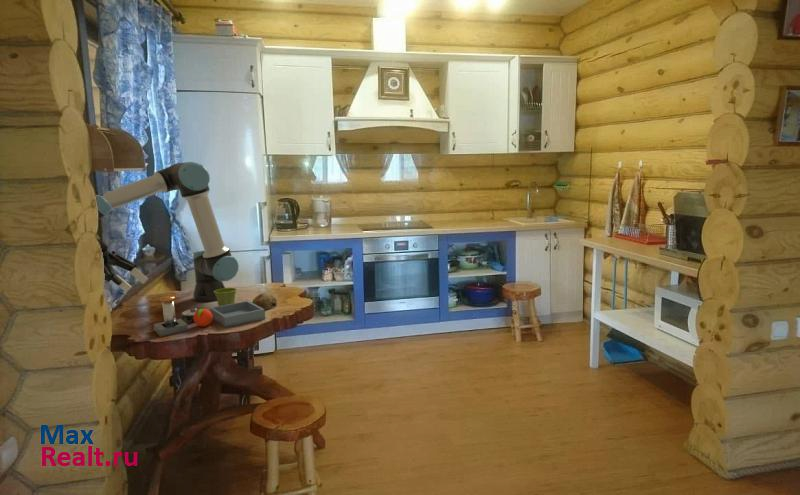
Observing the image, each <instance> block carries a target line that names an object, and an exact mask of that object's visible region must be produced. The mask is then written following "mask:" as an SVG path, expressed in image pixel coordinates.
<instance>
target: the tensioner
mask: <svg viewBox="0 0 800 495" xmlns="http://www.w3.org/2000/svg"><path fill="white" fill-rule="evenodd" d="M199 309H201V307H200V308H197V307H192V308H190V309H186V310H184V311H182V312H181V317H182V318H183V319H181V318H178V319H177V318H176V325H174V326H169V327H165V324H164V321H162V322H158V323H156V322H155V323H153V331H154V332H155V333H156V334H157V335H158V336H159V337H160V338H161V337H167V336H170V335H174V334H181V333H184V332H185V333H186V332H188V331H189V325H188V324H190V323H192V322H194V319H193V318H194V314H195V313H196V311H198V310H199Z"/></svg>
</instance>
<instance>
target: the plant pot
mask: <svg viewBox="0 0 800 495" xmlns="http://www.w3.org/2000/svg"><path fill="white" fill-rule="evenodd" d="M237 290H238V289H237V288H236V287H225V288H221V289H217V290H215V291H214V293H215V295H216V298H217V300H216V301H217V306H222V305H228V304H233V303H236V300H235V299H236V293H237Z"/></svg>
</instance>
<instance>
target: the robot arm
mask: <svg viewBox="0 0 800 495" xmlns="http://www.w3.org/2000/svg"><path fill="white" fill-rule="evenodd" d="M210 178H211V177H210V172H209V171H208V168H206V167H205V166H204V165H203V164H201V163H199V162H194V161H188V162H187V161H186V162H178V163H174V164H172V165H169V166H167V167H165V168H162V169H161V170H158V171H155V172H154V173H153V175H150V176H147V177H145V178H142V179H139V180H136V181H132V182H130V183H127V184H124V185H121V186H118V187H119V188H118V187H117V188H118V189H117V190H116V191H109V190H108V191H109V192H107V193H106V194H104V195H103V196H100V195H97V194H96V198H97V204H98V212H99V221H100V220H101V219H103V218H104V217H105V216H107V215H108V214H109V213H111V211H113V210H115V209H118V208H120V207H124V206H127V205H128V204H129V205H130V204H132V203H134V202H137V201H140V200H142V199H145V198H148V197H151V196H153V195H157V194H159V193H163V194H165V193H169V192H173V191H179V192H180V195H181V198H183V199H185V200H186V201H187V204H188V206H189V208H190V212H191V215H192V218H193V221H194V224H195V228H196V230H197V232H198V235H199V239H200V241H201V244H202V246H203V249H204V250H197V251H195V252H193V259H192V260H193V266H194V269H193V270H194V278H195V286H194V289H193V294H192V297H193V301H195V302H213V301H217V298H216V295H215V293H214V291H215V290H217V289H221V288H226V287H225V284H224V282H228V281H231V280H232V279H234V278H235V277H236V276H237V274H238V271H239V269H240V268H239V267H240V266H239V261H238V260H237V258H235V257H234V256H233V255H232V253H231V250H230V248H229V246H226V245H225V243H224V240H223V237H222V235H221V231H220V228H219V225H218V222H217V219H216V217H215V213H214V210H213V207H212V205H211V202H210V198H209V193H210V191H211V190H210V187H209V186H210V185H209V183H210V180H211V179H210ZM98 239H99V242H100V244H101V248H102V252H103V258H104V273H105V279H104V280H105V281H106V282H108V283H110V282H113V283H114V284H115V285H117V287H119V288H120V289H122V290H123V292H125V293H128V292H129V290H130V289H131V288H132V287H133V286H132V285H130V284H129V283H128V282H127V281H126V280H125V279H123V278H122V277H121V276H119V275H118V274H115V271H114V268H113V266H114V267H115V266H116V267H119V268H121V269H123V270H126V271H127V272H129V274H130V275H132V276H133V277H134V278H135V279H136V280H138V281H139V282H140V283H141V284H142V285H144V284H145V283H146V282H147V281H148V280H149V278H148V277H147V276H146V274H144V273H142V271H140V270H139V269H137V268H136V267H137V263H135V262H133V261H131V260H129V259H128V258H126V257H124V256H122V255H120V254H119V253H118V252H117V251H115V250H112V251H111V252H110V251H108V249H109V245H107V244H106V243H105V242H104V241H103V240H100V238H99V237H98Z"/></svg>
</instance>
